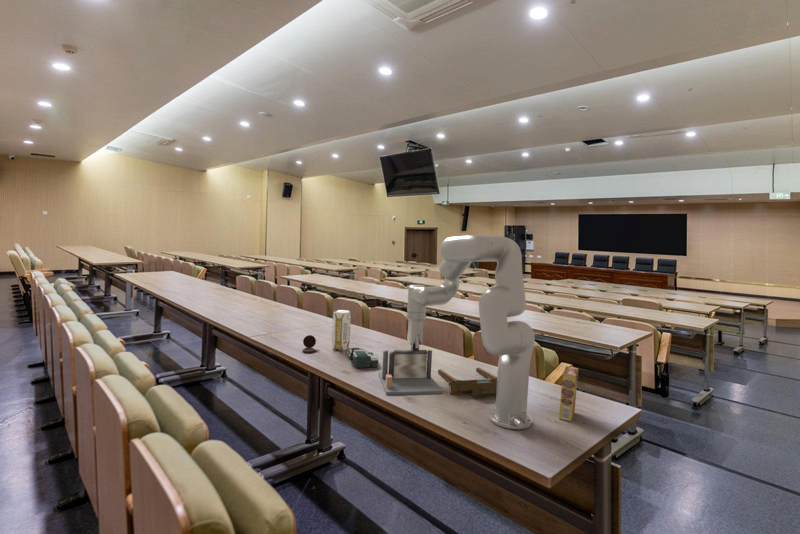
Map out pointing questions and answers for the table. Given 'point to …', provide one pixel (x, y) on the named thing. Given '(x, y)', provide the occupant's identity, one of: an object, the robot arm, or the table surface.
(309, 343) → the compass
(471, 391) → the miniature gate
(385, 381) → the gray panel stand
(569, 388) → the candy box
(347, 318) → the juice carton
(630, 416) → the table surface
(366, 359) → the communication device
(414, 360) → the gate
